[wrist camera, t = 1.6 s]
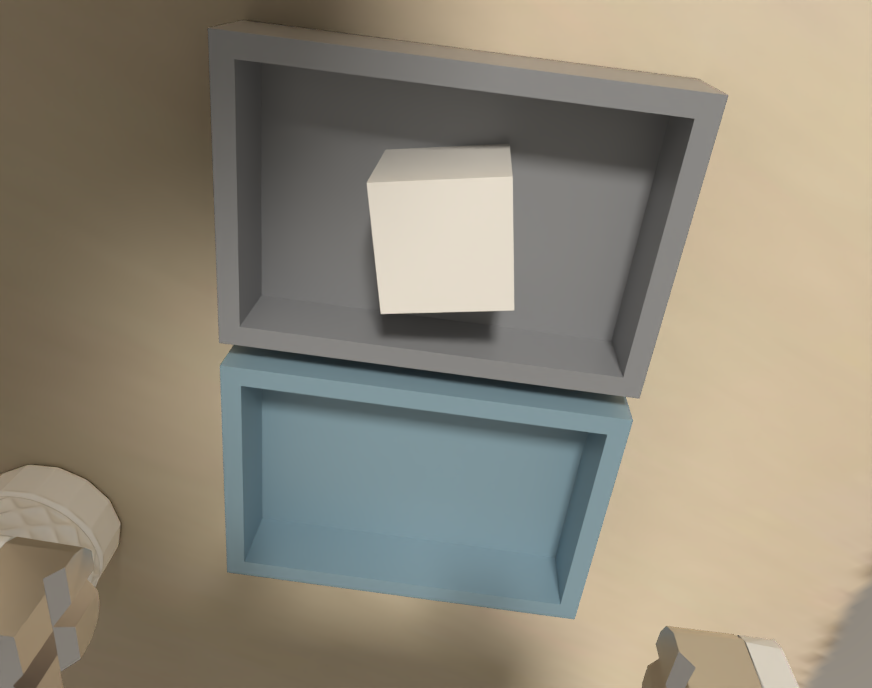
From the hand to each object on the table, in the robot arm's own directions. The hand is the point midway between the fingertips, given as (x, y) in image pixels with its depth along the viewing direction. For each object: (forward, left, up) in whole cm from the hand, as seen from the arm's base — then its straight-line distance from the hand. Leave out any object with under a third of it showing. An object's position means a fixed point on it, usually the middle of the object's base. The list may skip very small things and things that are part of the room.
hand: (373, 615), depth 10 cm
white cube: (0, 0, -19) cm, 19 cm away
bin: (+12, 0, -20) cm, 23 cm away
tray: (0, 0, -20) cm, 20 cm away
